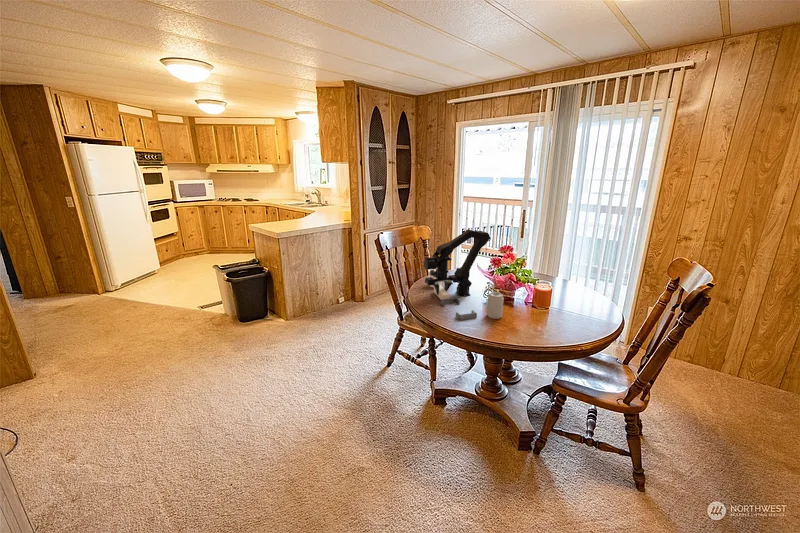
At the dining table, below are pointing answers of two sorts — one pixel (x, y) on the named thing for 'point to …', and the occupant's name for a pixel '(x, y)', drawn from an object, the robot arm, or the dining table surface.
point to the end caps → (458, 316)
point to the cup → (434, 278)
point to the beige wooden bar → (442, 293)
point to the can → (495, 305)
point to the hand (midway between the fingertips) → (441, 294)
